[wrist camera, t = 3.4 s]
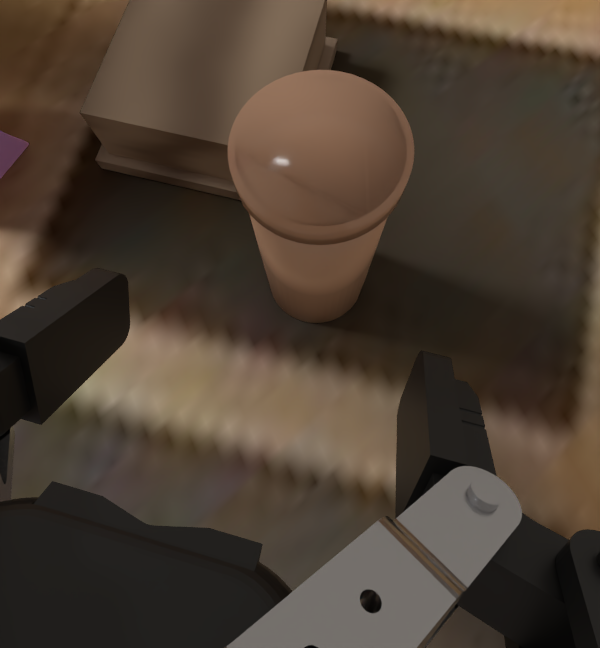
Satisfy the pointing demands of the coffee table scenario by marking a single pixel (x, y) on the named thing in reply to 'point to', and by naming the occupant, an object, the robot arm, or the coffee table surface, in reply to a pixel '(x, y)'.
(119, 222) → the coffee table surface
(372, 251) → the canister
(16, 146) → the toy chair
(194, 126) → the base slab
